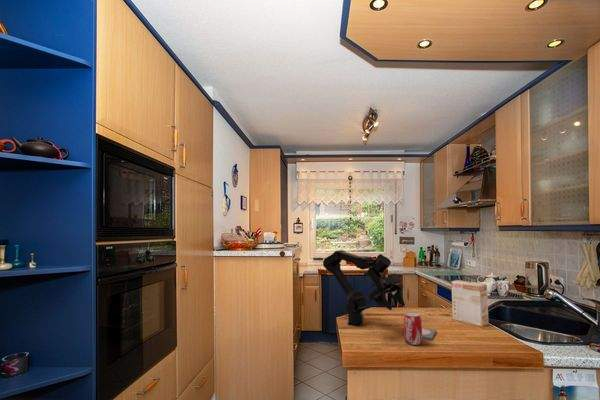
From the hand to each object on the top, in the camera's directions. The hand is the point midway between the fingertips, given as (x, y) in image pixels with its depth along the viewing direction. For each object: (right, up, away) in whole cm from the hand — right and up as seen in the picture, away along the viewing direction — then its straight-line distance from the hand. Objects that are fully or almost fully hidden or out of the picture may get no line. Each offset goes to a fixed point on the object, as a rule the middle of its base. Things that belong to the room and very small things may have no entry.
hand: (397, 307), depth 149 cm
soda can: (+5, -13, -7) cm, 15 cm away
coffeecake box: (+42, -14, +20) cm, 49 cm away
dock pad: (+11, -13, +4) cm, 18 cm away
